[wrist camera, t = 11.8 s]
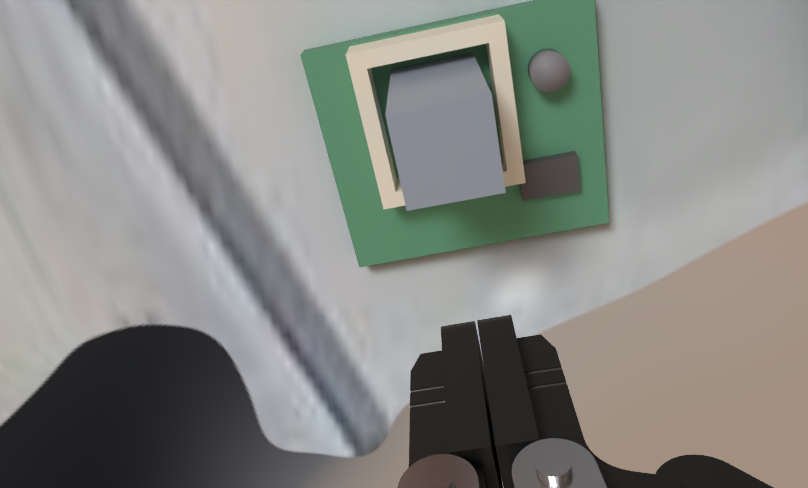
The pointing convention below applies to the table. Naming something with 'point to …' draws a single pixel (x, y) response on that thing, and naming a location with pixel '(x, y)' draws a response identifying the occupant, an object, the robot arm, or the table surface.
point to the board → (515, 121)
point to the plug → (443, 132)
